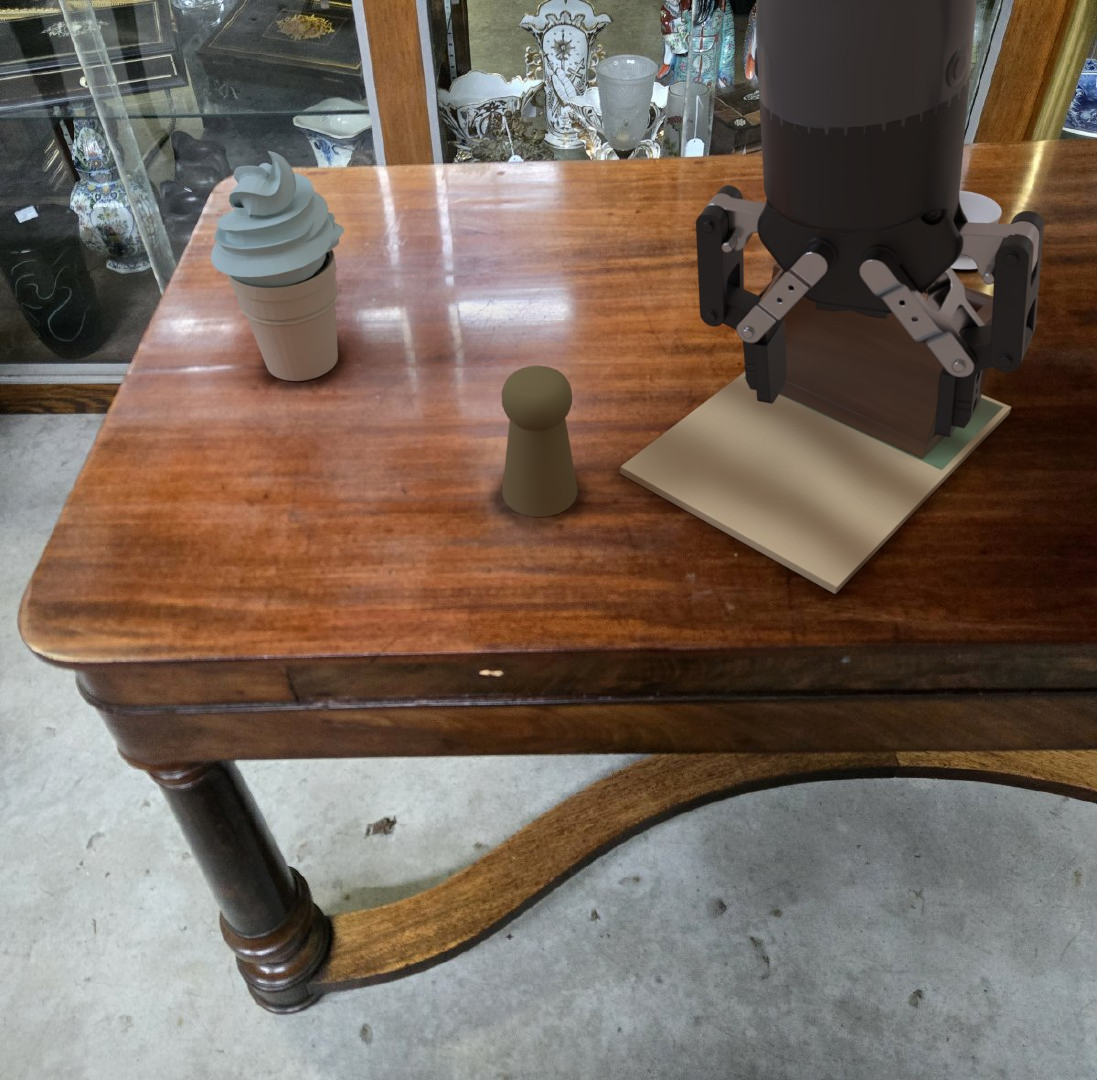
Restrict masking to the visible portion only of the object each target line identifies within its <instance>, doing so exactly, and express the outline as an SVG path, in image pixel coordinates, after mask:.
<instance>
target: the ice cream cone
mask: <svg viewBox="0 0 1097 1080" xmlns="http://www.w3.org/2000/svg"><path fill="white" fill-rule="evenodd" d="M267 153H268V155H269V157H270V158H271V164H270V163H267V162H263V163H260V165H258V166H256V165H241V166H237V167H236V169H234V171H233V178H234V180H235V181H236V183H237V185H236V186H235V187H234V188H233V190H232V191H231V192H230V193H229V195H228V202H229V205H230V206H231V207H232V208H233V209H232V210H231V211H229V212H226V213H225V214H223V215H222V216H220V217H219V218H218V219H217V220H216V227H217V228H216V229H215V231H214V234H213V235H214V236H213V237H214V241H215V242H216V243H215V244H214V246H213V247H212V250H211V252H210V262H211V264H212V266H213V267H214V268H215V270H217V271H218V272H220V273H222V274H224V275H227V278H228V281H229V284H230V287H231V288H232V289H233V291H234V295H235V298H236V301H237V304H238V306H239V308H240V310H241V312H242V314H243V315H244V316H245V317H246V319H247V321H248V324H249V326H250V329H251V331H252V334H253V336H254V339H255V341H256V344H257V346H258V348H259V351H260V353H261V357H262V359H263V361H264V363H265V366H266V369H267V370H268V373H270V374H271V375H272V376H273V377H275V378H278V379H280V380H284V381H290V382H291V381H292V382H302V381H308V380H313V379H316V378H319V377H321V376H323V375H325V374H327V373H328V372H330V371H331V370H333V368H334V367H335V366H336V364H337V362H338V360H339V350H338V349H339V348H338V333H337V332H338V329H337V312H336V301H337V298H338V281H337V274H336V273H337V263H336V256H335V252H334V250H333V249H335V248H336V247H337V246H339V244H340V238H341V237H342V235H343V234H344V232H345V228H344V226H342V225H341V224H338V223H337V222H335V220H336V216H335V215H334V214H333V213H332V212H329V206H328V202H327V201H326V199H325V197H323V196H322V195H321V194H320V193H319V192H317V191H315V188H314V184H313V182H312V181H311V180H310V179H309V178H308V176H305V175H304V174H301V173H298V172H294V169H293V168H292V166H291V164H290V163H289V162H288V161H287V159H286V158H285V157H284V156H282V155H281V154H279V153H278V152H276V151H275V152H274V151H271V150H267Z"/></svg>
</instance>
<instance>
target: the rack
mask: <svg viewBox="0 0 1097 1080" xmlns="http://www.w3.org/2000/svg"><path fill="white" fill-rule="evenodd" d="M780 269H781V267H780V266H779V264H778V263H777V262H776V263H775V264H773V268H772V276H771V280H772V279H773V278H774V277H775V276H776V275H777V273H778V272H779V271H780ZM963 286H964V289H965V297H966V299H967V301H968V302H969V304H970V305H971V306H972V308H973V309H974V311H975V312H976V313H977V315H978V316H979V317H980V319H981V320H982V321H983V323H984V324H985V325H991V324H992V309H993V295H991V294H988V293H985V292H983V291H981V290H977V289H974V288H972V287H970V286H966V285H964V284H963ZM922 294H924V295H927V292H926V290H925V291H924V292H923V293H922ZM781 319H784V322H785V345H786V368H787V377H786V381H785V384H784V386H783V388H782V390H781V391H780V394H782V395H785V396H787V397H789V398H791V399H793V400H795V401H798V402H800V403H802V404H804V405H806V406H808V407H810V408H813V409H815V410H817V411H819V412H821V413H823V414H826V415H828V416H830V417H832V418H834V419H836V420H838V421H841V422H843V423H845V424H847V425H849V426H851V427H854V428H856V429H858V430H860V431H862V432H864V433H866V434H869V435H871V436H873V437H875V438H877V439H879V440H881V441H884V442H886V443H888V444H890V445H892V446H894V447H897V448H899V449H901V450H903V451H905V452H907V453H909V454H912V455H914V456H916V457H918V458H920V459H923V458H924V457H925V456H926V455H927V454H928V453H929V452H930V451H931V450H932V449H933V448H934V447H935V446H936V445H937V444H938V443H939V442H940V441H941V440H942V439H943V438H944V437H945V436H941V435H936V434H935V420H936V409H937V398H938V386H939V375H940V372H941V370H942V368H943V365H942V364H941V363H940V362H939V360H938V359H937V358H936V356H935V355H934V354H933V352H932V351H931V350H930V349H929V347H928V346H927V345H926V344H925V343H923V342H922V343H917V342H916V341H915V340H914V339H913V338H912V337H911V336H910V334H909V333H908V332H907V330H906V329H905V328H904V326H903V325H902V324H901V323H900V321H899V320H898V319H897V317H896V316H895V315H894V314H893V313H891V314H889V315H888V317H887V319H882V318H875V317H868V316H866V315H863V314H860V313H857V312H855V311H852V310H844V311H826V310H819V309H816V303H813V302H811V301H810V300H808V299H807V298H805V297H804V296H802V297H801V298H800V299H799V301H798V302H797V303H796V304H795V305H794V306H793V307H792V308H791V309H790V310H789V311H788V312H787V313H786V314H785V315H784V316H783V317H782V318H781ZM989 368H990V367H989ZM989 368H985V369H983V370H982V377H981V384H980V391H979V392H980V393H979V401H980V398H981V395H983V393H984V388H983V387H984V383H985V381H986V377H987V375H988V372H989ZM979 401H978V403H979ZM978 403H977V404H978Z"/></svg>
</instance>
